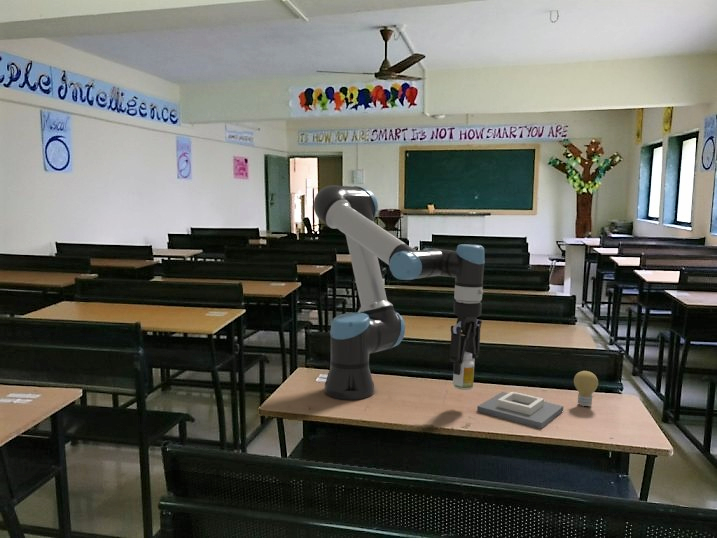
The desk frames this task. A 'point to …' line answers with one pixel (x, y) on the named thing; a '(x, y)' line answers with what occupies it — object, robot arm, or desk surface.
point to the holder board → (521, 409)
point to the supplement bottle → (467, 372)
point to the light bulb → (585, 387)
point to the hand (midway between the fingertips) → (463, 382)
